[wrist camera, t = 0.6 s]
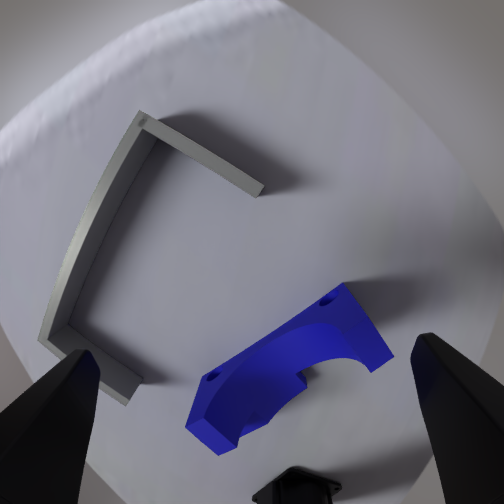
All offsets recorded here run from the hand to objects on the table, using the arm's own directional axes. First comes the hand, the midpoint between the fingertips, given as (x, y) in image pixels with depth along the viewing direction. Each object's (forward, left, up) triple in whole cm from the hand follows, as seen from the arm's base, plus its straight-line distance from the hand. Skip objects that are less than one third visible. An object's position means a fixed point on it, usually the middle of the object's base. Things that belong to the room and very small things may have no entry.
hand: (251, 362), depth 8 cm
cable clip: (-5, +5, -13) cm, 15 cm away
